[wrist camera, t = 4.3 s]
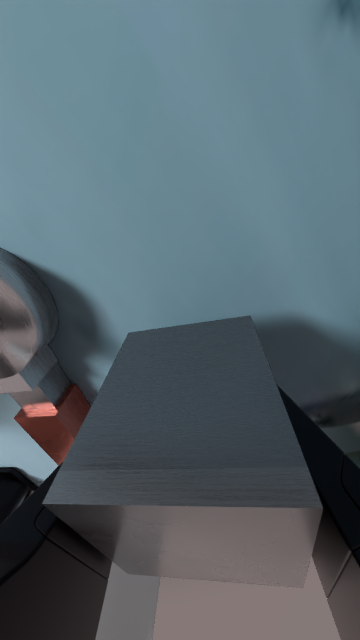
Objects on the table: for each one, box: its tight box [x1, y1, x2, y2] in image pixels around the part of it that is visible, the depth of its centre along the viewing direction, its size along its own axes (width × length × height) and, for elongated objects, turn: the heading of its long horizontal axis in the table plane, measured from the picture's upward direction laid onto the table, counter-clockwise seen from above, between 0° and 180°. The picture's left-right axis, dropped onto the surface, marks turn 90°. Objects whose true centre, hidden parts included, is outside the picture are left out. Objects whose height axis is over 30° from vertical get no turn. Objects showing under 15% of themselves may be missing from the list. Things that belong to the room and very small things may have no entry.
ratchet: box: [0, 248, 91, 465], centre depth 14 cm, size 19×8×6 cm, turn 12°
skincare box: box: [95, 562, 160, 640], centre depth 17 cm, size 8×6×15 cm
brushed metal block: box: [42, 316, 323, 588], centre depth 8 cm, size 5×5×6 cm
